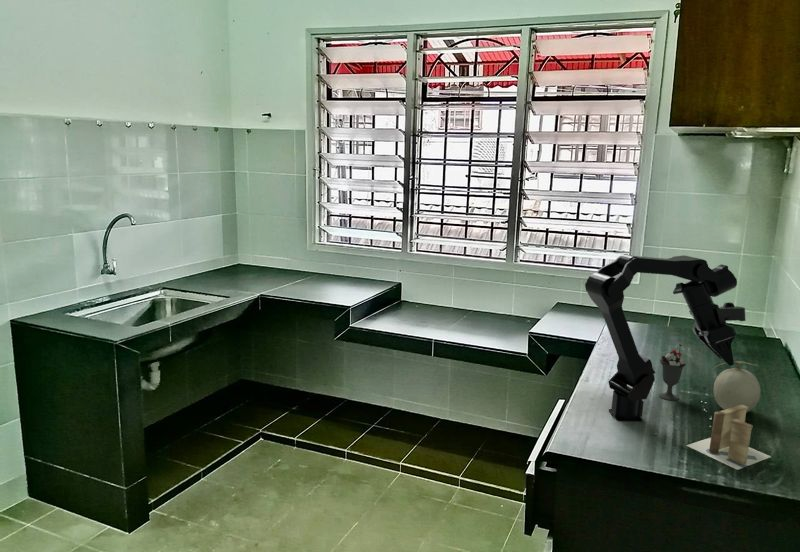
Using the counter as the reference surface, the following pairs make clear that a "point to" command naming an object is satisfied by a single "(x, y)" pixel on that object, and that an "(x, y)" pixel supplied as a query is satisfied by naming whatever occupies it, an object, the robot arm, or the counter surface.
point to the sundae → (671, 372)
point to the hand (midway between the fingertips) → (726, 361)
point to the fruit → (736, 387)
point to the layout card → (722, 454)
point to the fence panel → (730, 423)
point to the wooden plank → (732, 438)
